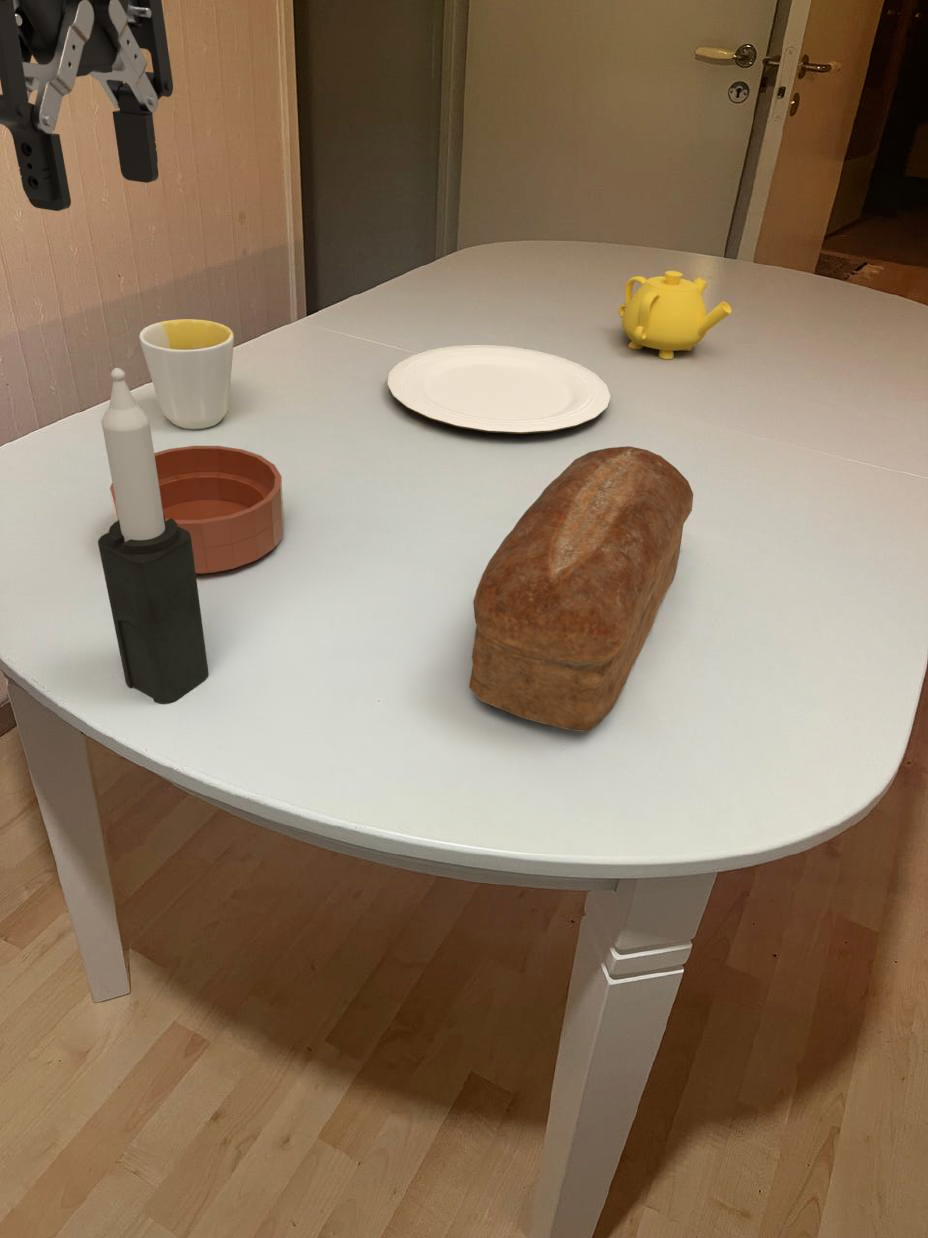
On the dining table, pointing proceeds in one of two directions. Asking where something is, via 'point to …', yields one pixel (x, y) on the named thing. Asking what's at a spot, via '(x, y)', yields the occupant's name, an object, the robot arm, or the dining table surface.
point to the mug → (190, 369)
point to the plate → (498, 389)
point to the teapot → (668, 313)
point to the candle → (148, 564)
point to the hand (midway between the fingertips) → (98, 193)
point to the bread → (579, 588)
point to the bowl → (221, 503)
